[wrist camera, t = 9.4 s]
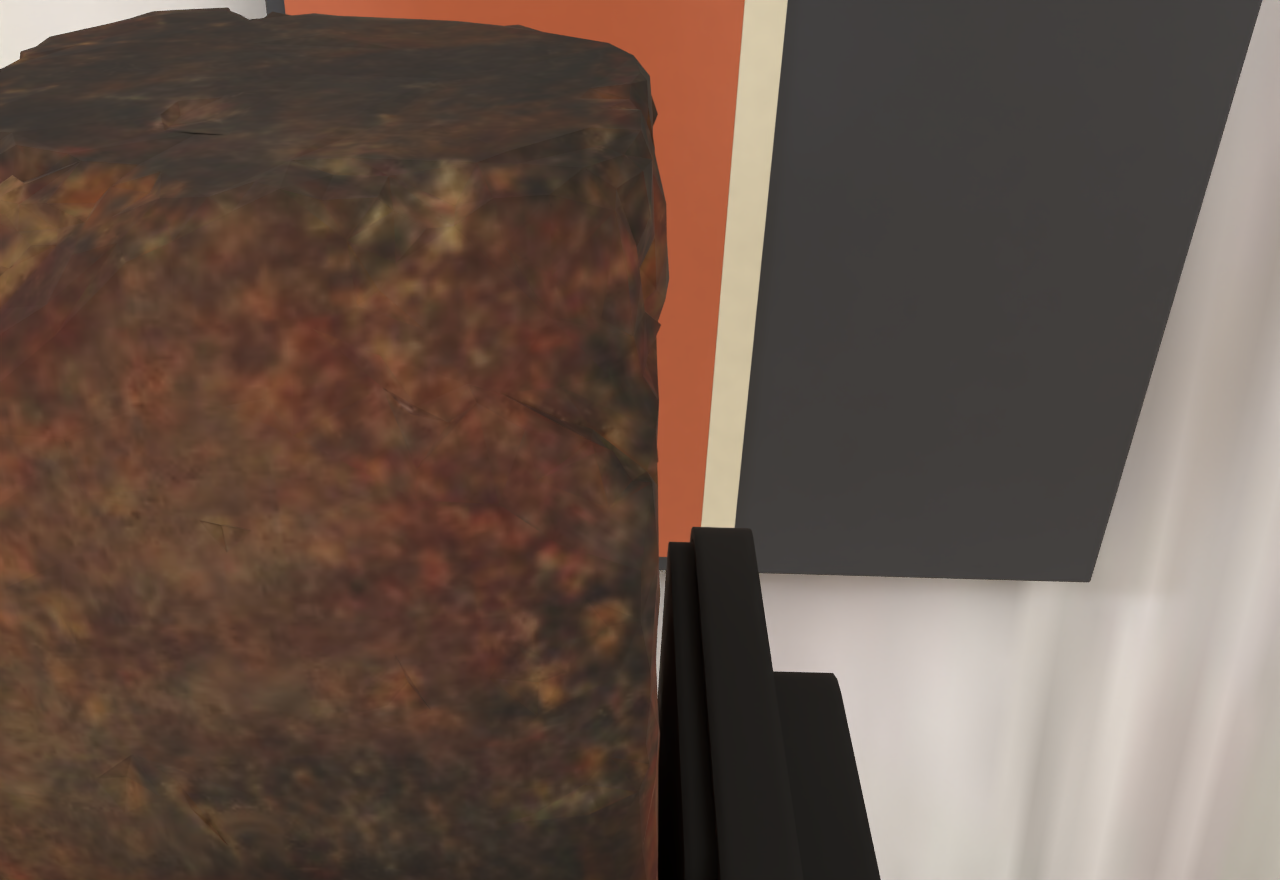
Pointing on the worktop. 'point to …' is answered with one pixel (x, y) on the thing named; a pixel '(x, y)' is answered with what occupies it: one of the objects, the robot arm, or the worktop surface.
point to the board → (909, 260)
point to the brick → (328, 452)
